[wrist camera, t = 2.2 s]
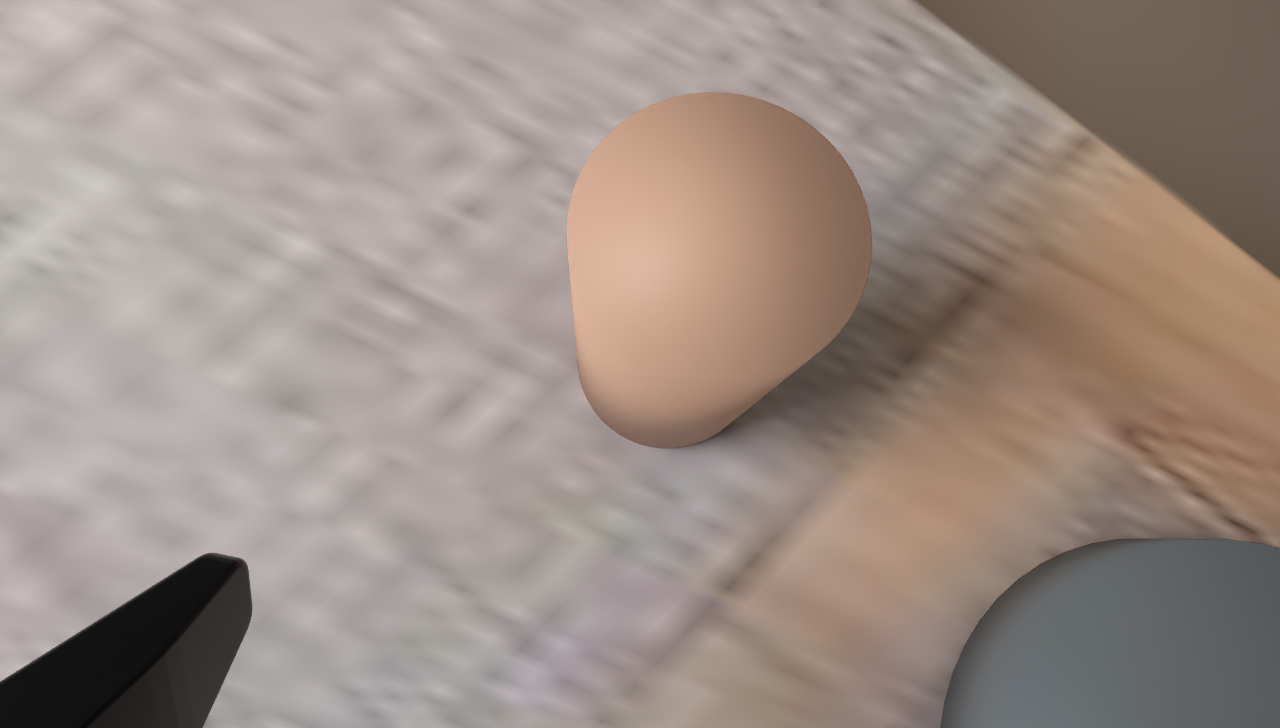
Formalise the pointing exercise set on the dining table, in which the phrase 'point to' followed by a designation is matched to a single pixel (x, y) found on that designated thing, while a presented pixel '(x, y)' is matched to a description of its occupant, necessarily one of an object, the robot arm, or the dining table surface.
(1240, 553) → the pedestal
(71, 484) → the dining table surface
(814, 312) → the tan piece
